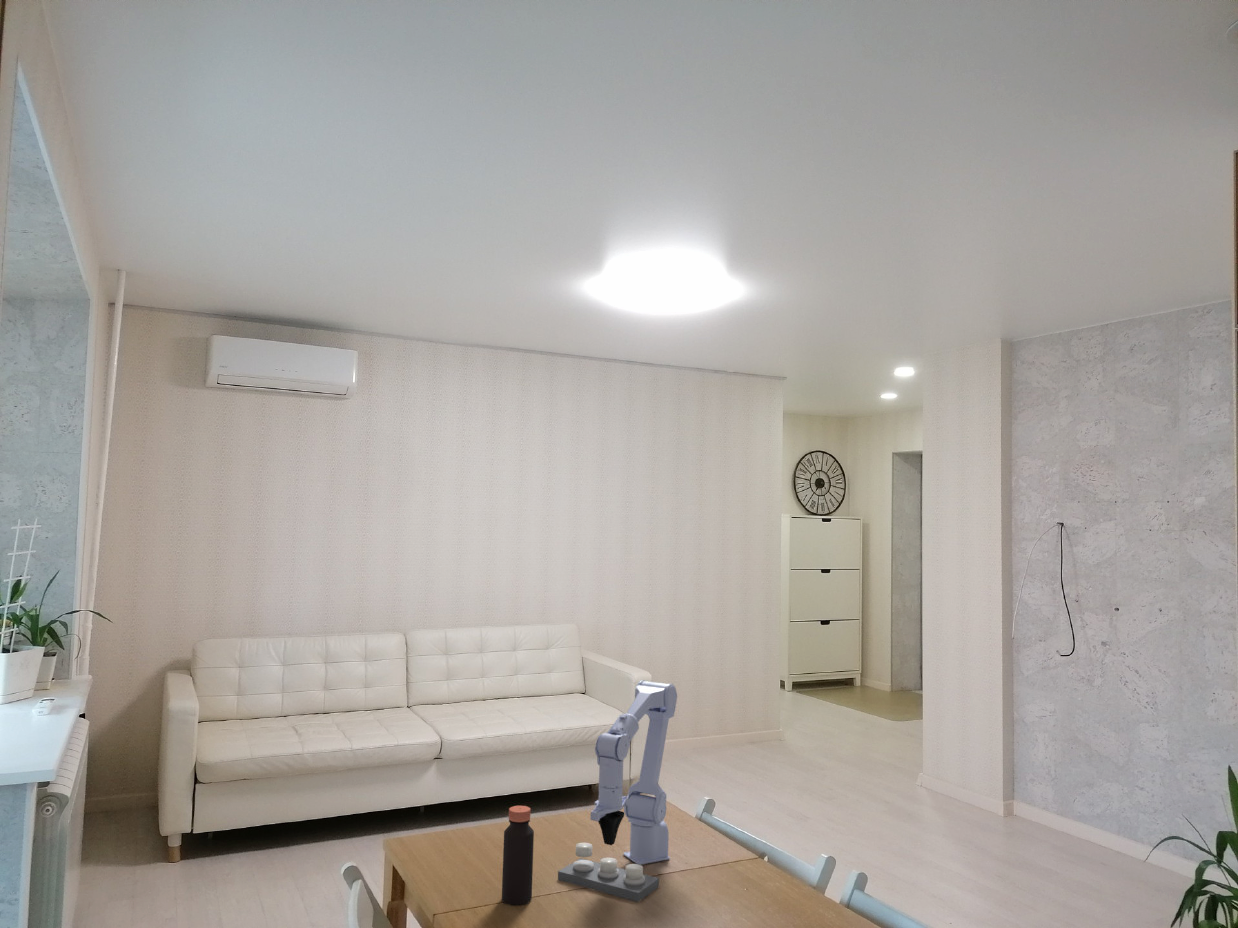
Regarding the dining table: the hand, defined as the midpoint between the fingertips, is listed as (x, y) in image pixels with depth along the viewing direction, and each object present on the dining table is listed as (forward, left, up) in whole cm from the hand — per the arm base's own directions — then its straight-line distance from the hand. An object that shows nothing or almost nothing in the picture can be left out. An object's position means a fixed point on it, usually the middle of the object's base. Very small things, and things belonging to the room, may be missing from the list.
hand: (609, 843), depth 208 cm
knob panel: (0, 0, -9) cm, 9 cm away
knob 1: (+4, -6, -4) cm, 8 cm away
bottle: (+23, -1, -9) cm, 25 cm away
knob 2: (0, 0, -6) cm, 6 cm away
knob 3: (-3, +6, -6) cm, 9 cm away
